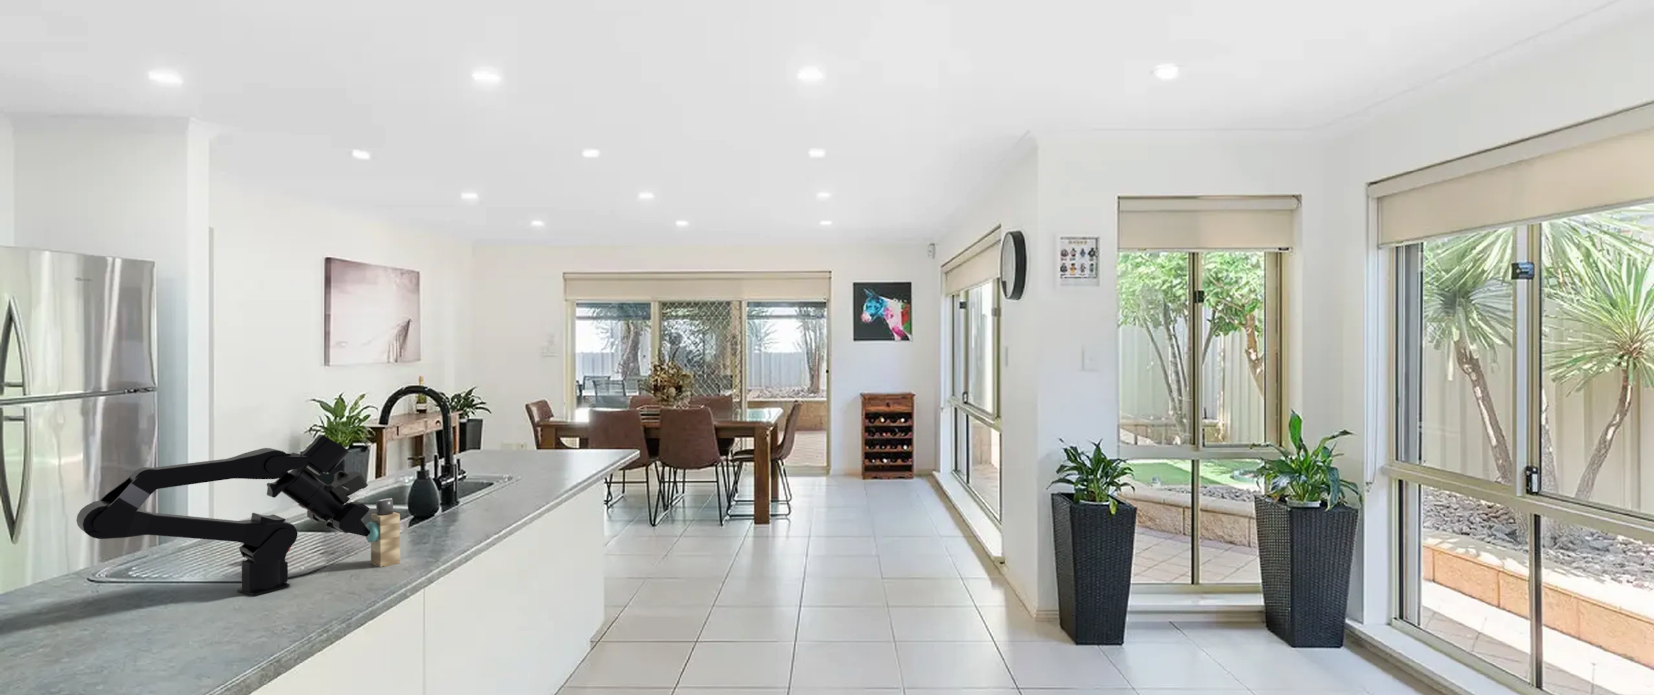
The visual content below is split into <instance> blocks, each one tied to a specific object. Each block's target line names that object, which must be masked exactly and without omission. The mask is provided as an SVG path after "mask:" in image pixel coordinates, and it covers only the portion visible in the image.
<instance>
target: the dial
mask: <svg viewBox="0 0 1654 695" xmlns="http://www.w3.org/2000/svg"><path fill="white" fill-rule="evenodd" d="M393 501H394V500H393V498H392V497H388V498H381V499H378V500H376V501H375V506H376V513H377V515H388V514H392V513H393V512H395V511H394V502H393Z"/></svg>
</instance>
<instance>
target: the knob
mask: <svg viewBox="0 0 1654 695" xmlns="http://www.w3.org/2000/svg"><path fill="white" fill-rule="evenodd" d="M365 526H366V527H367V529H368V530H369V531H370V534H369V535H368V536H367V537H366V536H365V539H366V542H368V543H370V544H371V542H376V541H378V539H379V526H378V524H377V522H375V521H374V522H371V521H369V522H367V523H366V524H365Z"/></svg>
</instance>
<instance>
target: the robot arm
mask: <svg viewBox="0 0 1654 695" xmlns="http://www.w3.org/2000/svg"><path fill="white" fill-rule="evenodd" d="M349 454H350V451H349V450H348V449H347V448H346V447H344V446H343V445H342V444H341V443H337V442H336V441H334V440H332V439H330V438H329V437H328V436H326V435H325V434H318V435H317V436H316V437H315V438H314V440H313V441H312V442H311V443H310V444H309V445H308V446H307V447H306V448H305V449H304V450H303V451H302V452H301V453H296V452H292V453H290V452H289V453H288V452H285V451H284V450H280V449H276V448H275V449H274V448H272V447H271V448H270V447H263V448H258V449H256V450H252V451H248V452H244V453H241V454H238V455H235V456H232V457H228V458H222V459H214V460H207V461H206V460H205V461H196V462H188V463H181V464H173V465H165V466H164V465H163V466H155V467H149V466H145V467H144V466H143V467H140V468H137V469H136V470H134V471H133V472H132V474H130V475H128V476H129V477H127V478H126V479H125V480H123V481H122V482H120V483H119V484H118V485H116V486H115V487H114V488H112V489H111V490H110V491H109V492H107V493H106V494H105V495H104V496H102V497H101V498H100V499H99V500H96V501H92V502H91V503H89V504H86V505H85V506H84V507H82V508H81V509H80V510H79V512H78V513H77V514H76V515H77V516H76V524H77V527H79V529H80V530H81V531H83V533H85V534H87V536H89V537H91V538H93V539H98V540H108V539H109V540H110V539H125V538H133V537H140V536H156V537H157V536H158V537H159V536H160V537H170V538H171V537H173V538H183V539H184V538H186V539H195V540H196V539H197V540H198V539H199V540H208V541H209V540H211V541H224V542H232V543H233V542H237V543H241V544H242V545H241V546H240V547H239V548H238V550H239V552H240V553H241V554H240V555H241V556H242V557H243V558H246V559H245V560H241V587H238V588H237V590H236V591H237V592H238V593H239V592H240V593H243V594H246V595H249V596H258V595H262V594H266V593H270V592H273V591H277V590H282V589H285V588H289V587H290V586H291V584H290V583H288V581H289V580H288V577H289V573H288V572H289V568H288V565H289V564H288V561H286V556H287V554H288V553H289V551H288V549H289V547H292V546H293V545H294V544H295V542H296V541H297V538H298V534H299V533H298V531H297V528H296V527H295V525H294V524H292V523H290V522H287V521H286V520H287V519H286V518H284V517H281V516H278V515H276V514H270V515H266V514H265V515H264V514H259V513H256V512H252V513H251V517H250V518H251V519H244V520H232V519H221V518H213V517H211V518H210V517H202V516H200V517H199V516H190V515H183V514H182V515H181V514H180V515H179V514H172V513H170V514H169V513H160V512H151V511H146V510H143V509H140V508H141V507H142V505H143V504H144V503H145V502H146V501H147V500H148V499H149V497H150V496H151V495H153V493H154V492H155V491H156V490H159V489H167V488H174V487H183V486H189V485H194V484H195V485H196V484H203V483H210V482H218V481H225V480H231V479H235V480H236V479H237V480H238V479H245V480H275V481H274V482H267V483H266V487H267V489H266V490H267V491H266V496H268V497H270V498H277V497H278V496H279V494H280V493H283V494H284V495H285V496H287V497H288V498H290V499H291V500H293V501H294V502H296V503H297V504H298V506H299V507H301V508H302V509H305V510H306V511H307V512H306V513H307V514H306V516H307V518H309V520H311V521H313V522H315V523H317V524H319V523H320V522H321V521H322V522H326V524H325V526H326V527H327V528H330V529H333V530H336V531H339V532H342V533H344V534H354V535H357V536H362V537H365V538H366V537H367V536H368V535H369V534H370V531H369V530H368V529H367V527H366V524H365V522H363V520H362V519H363V518H364V517H365V515H367V514H368V513H369V511H370V507H368V506H367V505H366V504H365V503H363V502H360V501H357V500H356V501H350V500H351V497H349V496H351V495H354V494H355V493H357V492H359V491H361V490H362V489H363V490H364V489H366V488H367V487H368V486H369V484H368V483H367V480H366V478H365V477H364V475H363V473H362V472H358V471H350V472H349V473H347V472H345V471H342V470H340V471H337V472H335V473H334V474H333V481H332V483H329V484H327V483H325V482H324V481H322V480H320V479H319V478H318V477H316V476H315V475H314V474H316V475H318V476H321V475H322V474H324V475H329V474H330V473H331V472H332V471H333V470H334V469H336V468H337V466H338V465H339V464H340V463H342V461H343V460H344V459H345V458H346V457H347V456H348V455H349ZM307 469H309V471H308V470H307ZM310 471H311V472H312V473H311V472H310ZM313 473H314V474H313ZM349 501H350V502H349Z"/></svg>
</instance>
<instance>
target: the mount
mask: <svg viewBox="0 0 1654 695" xmlns="http://www.w3.org/2000/svg"><path fill="white" fill-rule="evenodd" d="M374 521H375V522H377V524H378V526H379V539H378V541H376V542H371V543H370V564H372V565H375V566H377V567H378V568H383V567H382V566H384V567H388V566H392V565H397V564H401V514H400V513H398V512H395V511H394V512H393V513H392V514H388V515H377V512H375V513H370V522H374Z"/></svg>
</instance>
